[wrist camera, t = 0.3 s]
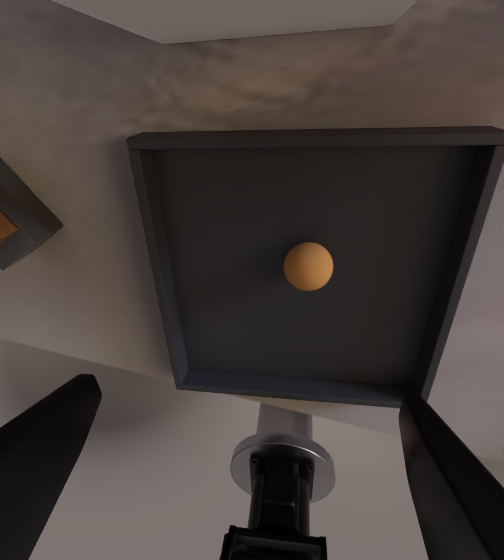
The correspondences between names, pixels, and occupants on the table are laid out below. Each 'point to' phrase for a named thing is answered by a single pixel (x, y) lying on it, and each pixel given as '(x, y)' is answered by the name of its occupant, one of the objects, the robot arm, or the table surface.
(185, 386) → the pan
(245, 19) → the milk
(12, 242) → the wooden block on stand
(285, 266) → the tan round ball
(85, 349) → the table surface
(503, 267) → the table surface
